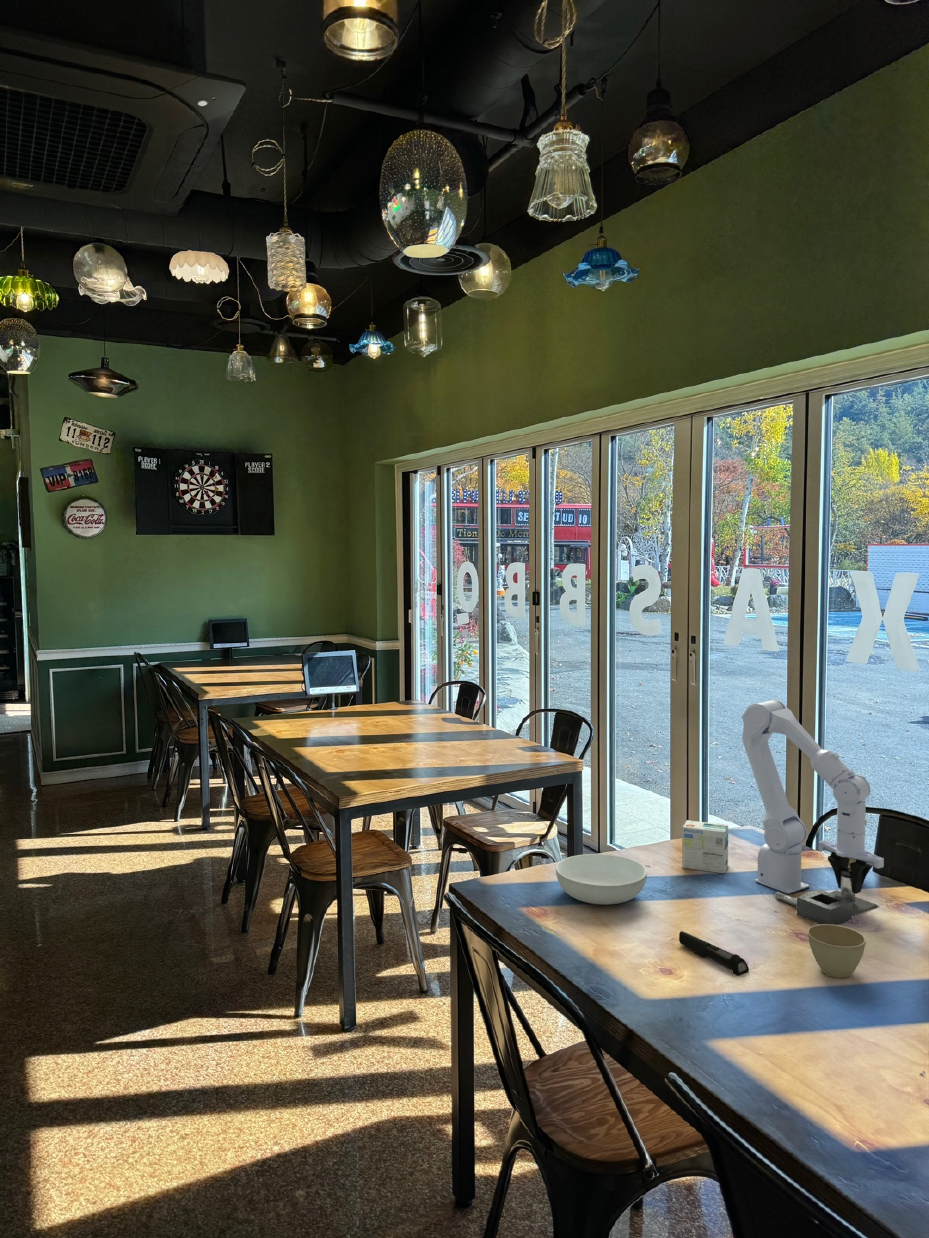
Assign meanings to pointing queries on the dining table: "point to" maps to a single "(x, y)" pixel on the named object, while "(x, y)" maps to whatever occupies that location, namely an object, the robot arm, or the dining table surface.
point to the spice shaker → (847, 884)
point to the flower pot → (836, 949)
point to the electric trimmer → (714, 953)
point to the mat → (858, 904)
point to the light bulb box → (705, 846)
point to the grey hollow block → (821, 907)
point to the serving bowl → (601, 878)
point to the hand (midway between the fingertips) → (849, 889)
